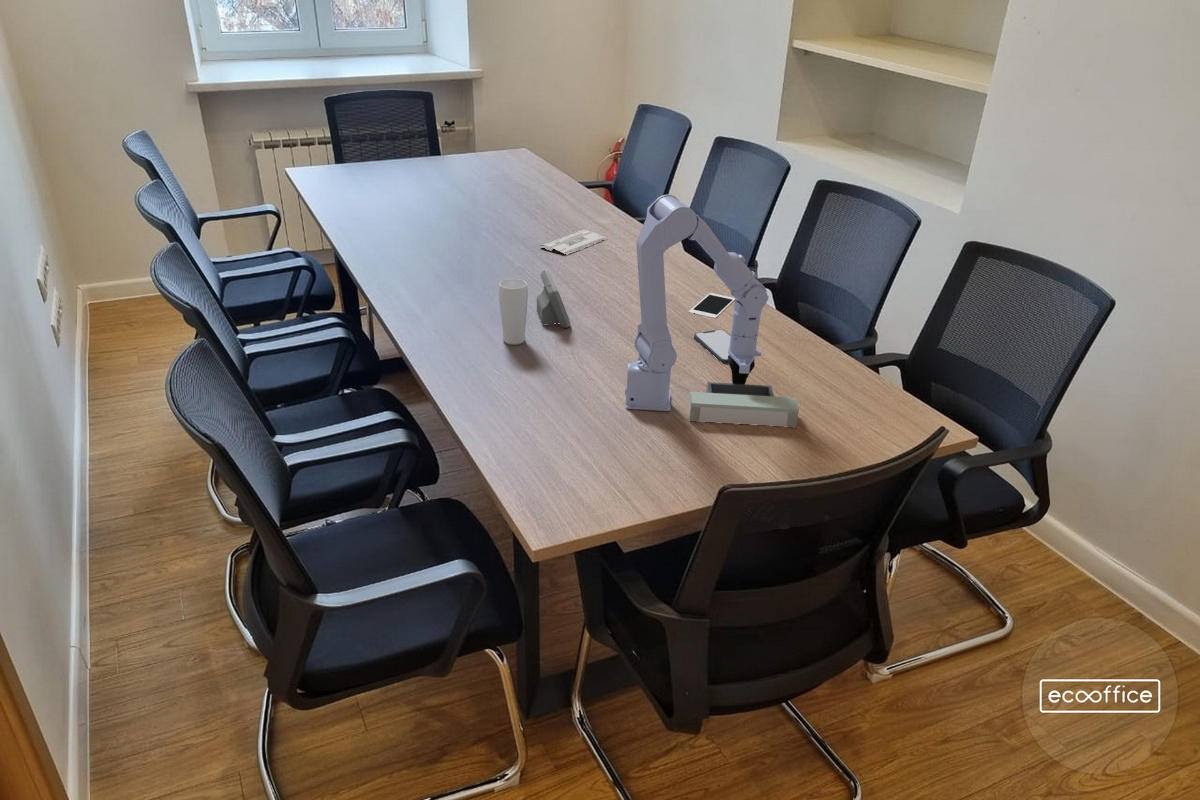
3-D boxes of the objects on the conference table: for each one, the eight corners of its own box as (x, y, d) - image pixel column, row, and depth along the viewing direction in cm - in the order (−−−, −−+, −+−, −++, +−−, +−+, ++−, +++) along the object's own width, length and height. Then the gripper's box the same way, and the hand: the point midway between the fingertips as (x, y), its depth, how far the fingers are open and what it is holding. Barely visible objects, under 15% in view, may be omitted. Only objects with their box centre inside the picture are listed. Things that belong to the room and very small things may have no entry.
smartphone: (754, 361, 209) (722, 334, 222) (755, 355, 209) (723, 328, 221) (722, 366, 206) (691, 338, 219) (722, 360, 206) (692, 332, 218)
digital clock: (570, 331, 220) (570, 291, 215) (534, 330, 220) (534, 290, 215) (571, 306, 234) (571, 268, 229) (537, 305, 234) (537, 267, 229)
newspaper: (577, 233, 291) (578, 226, 290) (606, 244, 286) (607, 237, 284) (533, 249, 275) (533, 242, 274) (563, 262, 269) (564, 254, 268)
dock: (689, 421, 182) (691, 403, 179) (688, 406, 187) (690, 388, 185) (795, 427, 181) (798, 409, 179) (791, 412, 186) (794, 394, 184)
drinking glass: (516, 333, 218) (515, 276, 210) (533, 341, 213) (533, 284, 206) (494, 340, 213) (492, 282, 206) (512, 349, 209) (511, 291, 202)
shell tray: (708, 410, 186) (709, 399, 185) (706, 392, 193) (707, 382, 192) (773, 413, 186) (775, 403, 184) (769, 396, 193) (771, 385, 191)
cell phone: (687, 313, 233) (688, 311, 233) (709, 294, 246) (709, 292, 246) (715, 320, 230) (715, 317, 230) (735, 300, 243) (736, 298, 242)
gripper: (767, 347, 180) (759, 404, 187) (760, 319, 193) (752, 374, 199) (732, 345, 181) (726, 402, 187) (728, 317, 193) (721, 372, 200)
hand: (737, 388), depth 193 cm, fingers closed
